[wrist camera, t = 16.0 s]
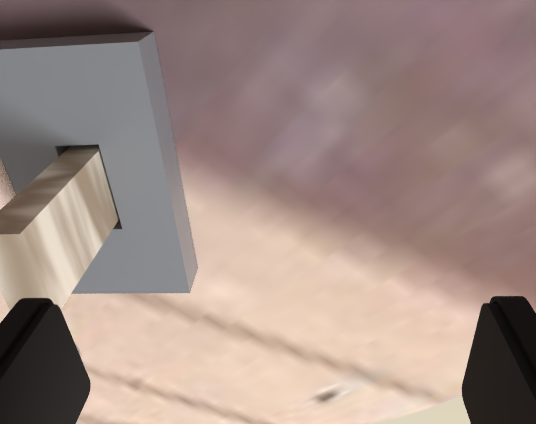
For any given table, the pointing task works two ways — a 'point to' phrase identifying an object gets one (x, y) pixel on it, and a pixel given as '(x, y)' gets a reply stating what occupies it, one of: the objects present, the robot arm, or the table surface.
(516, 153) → the table surface
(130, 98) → the grey slotted tile
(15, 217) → the pine slat
